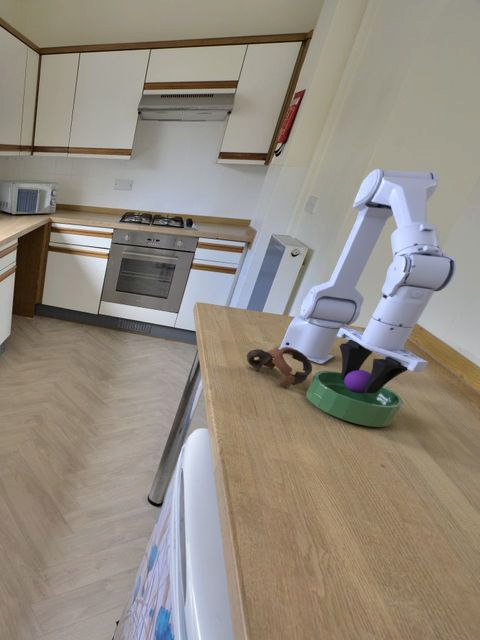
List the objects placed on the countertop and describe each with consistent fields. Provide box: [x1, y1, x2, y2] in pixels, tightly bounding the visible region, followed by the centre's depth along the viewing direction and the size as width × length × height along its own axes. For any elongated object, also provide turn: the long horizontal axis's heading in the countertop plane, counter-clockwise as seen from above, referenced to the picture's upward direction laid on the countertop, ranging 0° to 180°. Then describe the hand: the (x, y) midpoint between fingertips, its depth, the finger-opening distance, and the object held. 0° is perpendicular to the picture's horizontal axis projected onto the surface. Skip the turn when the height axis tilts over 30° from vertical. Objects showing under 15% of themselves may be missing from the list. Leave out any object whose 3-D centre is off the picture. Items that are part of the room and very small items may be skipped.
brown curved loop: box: [246, 347, 313, 388], centre depth 91 cm, size 12×10×8 cm
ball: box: [344, 369, 371, 393], centre depth 79 cm, size 4×4×4 cm
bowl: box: [305, 370, 404, 428], centre depth 81 cm, size 13×13×5 cm
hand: (357, 385), depth 79 cm, fingers closed on ball, 4 cm apart
